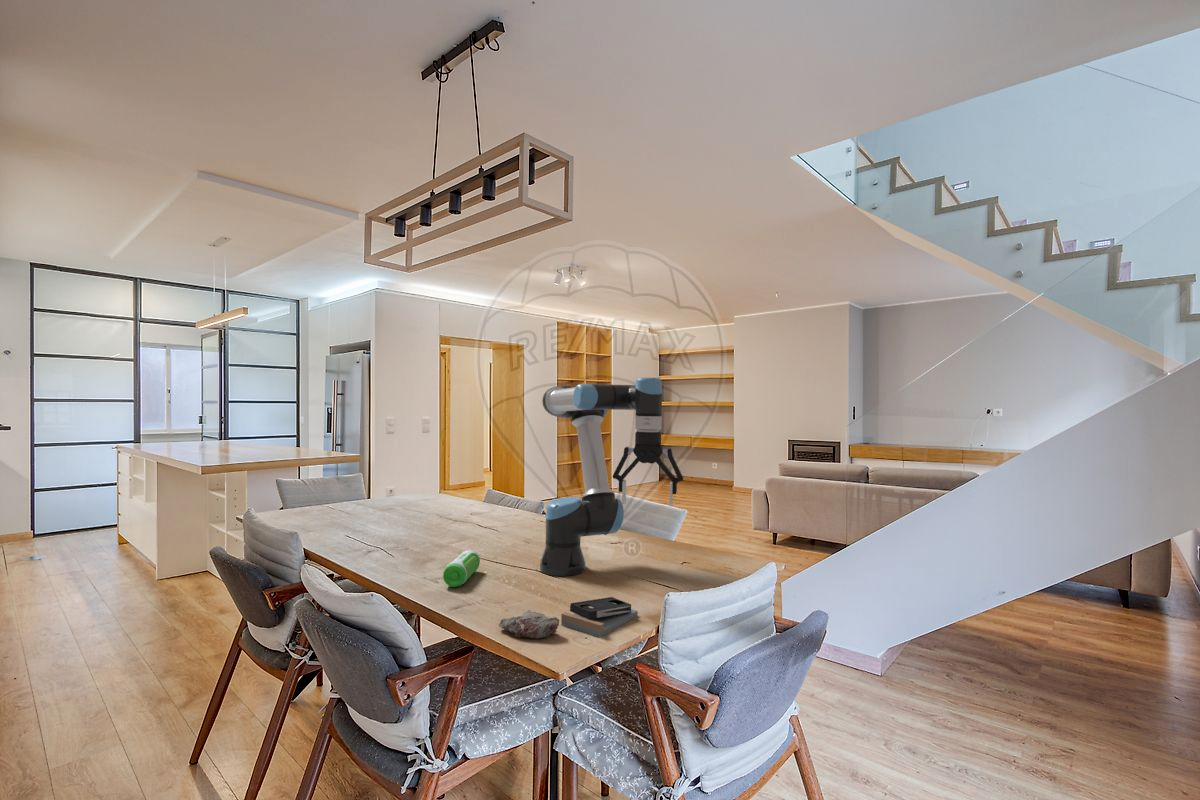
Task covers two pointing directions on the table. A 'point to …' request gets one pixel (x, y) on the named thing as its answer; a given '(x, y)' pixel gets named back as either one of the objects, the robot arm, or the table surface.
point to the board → (596, 622)
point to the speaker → (461, 568)
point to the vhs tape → (600, 608)
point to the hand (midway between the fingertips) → (647, 504)
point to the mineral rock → (530, 625)
